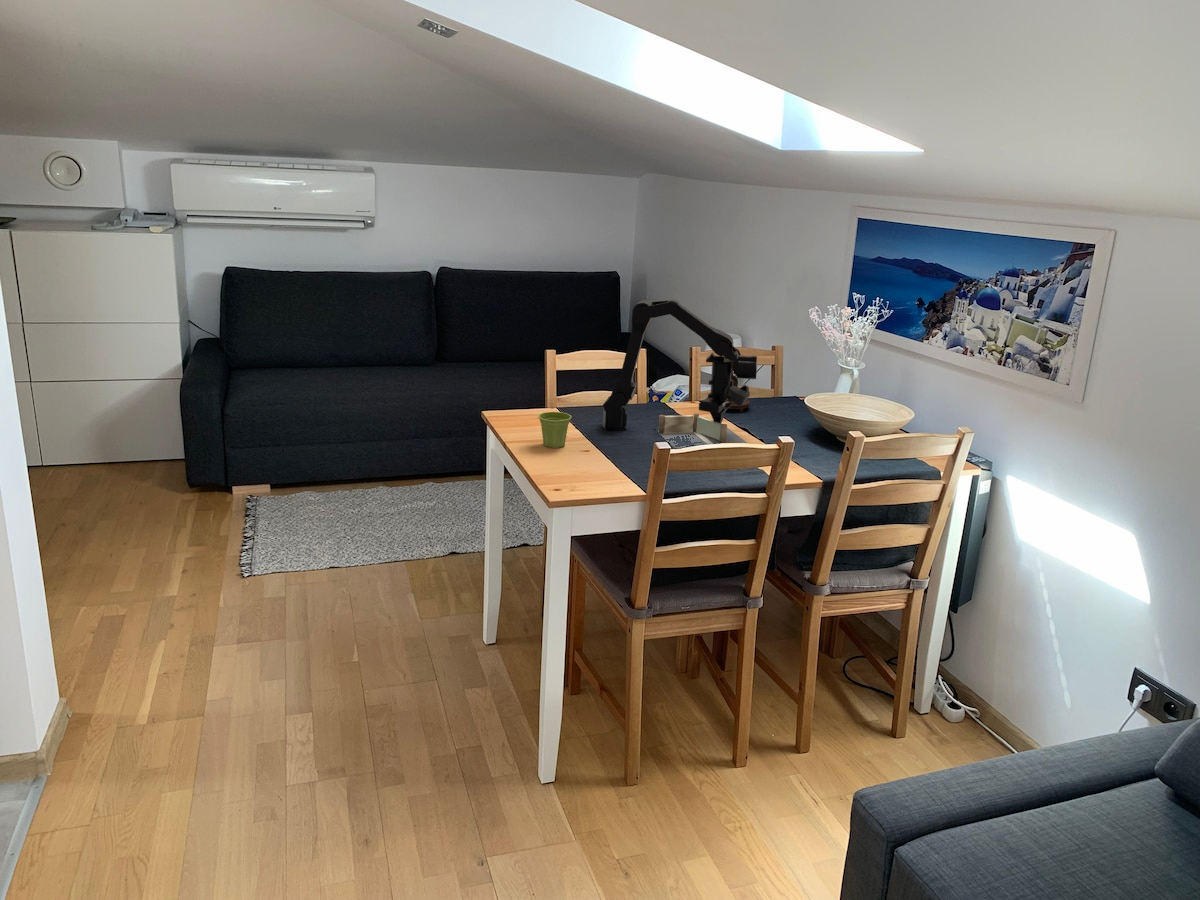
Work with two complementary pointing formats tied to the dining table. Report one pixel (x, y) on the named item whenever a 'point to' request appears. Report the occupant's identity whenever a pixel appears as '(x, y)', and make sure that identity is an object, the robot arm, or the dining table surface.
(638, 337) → the robot arm
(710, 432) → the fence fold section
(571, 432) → the dining table surface
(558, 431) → the plant pot
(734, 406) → the brown round-based upright piece
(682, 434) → the card
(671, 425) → the fence fixed section
